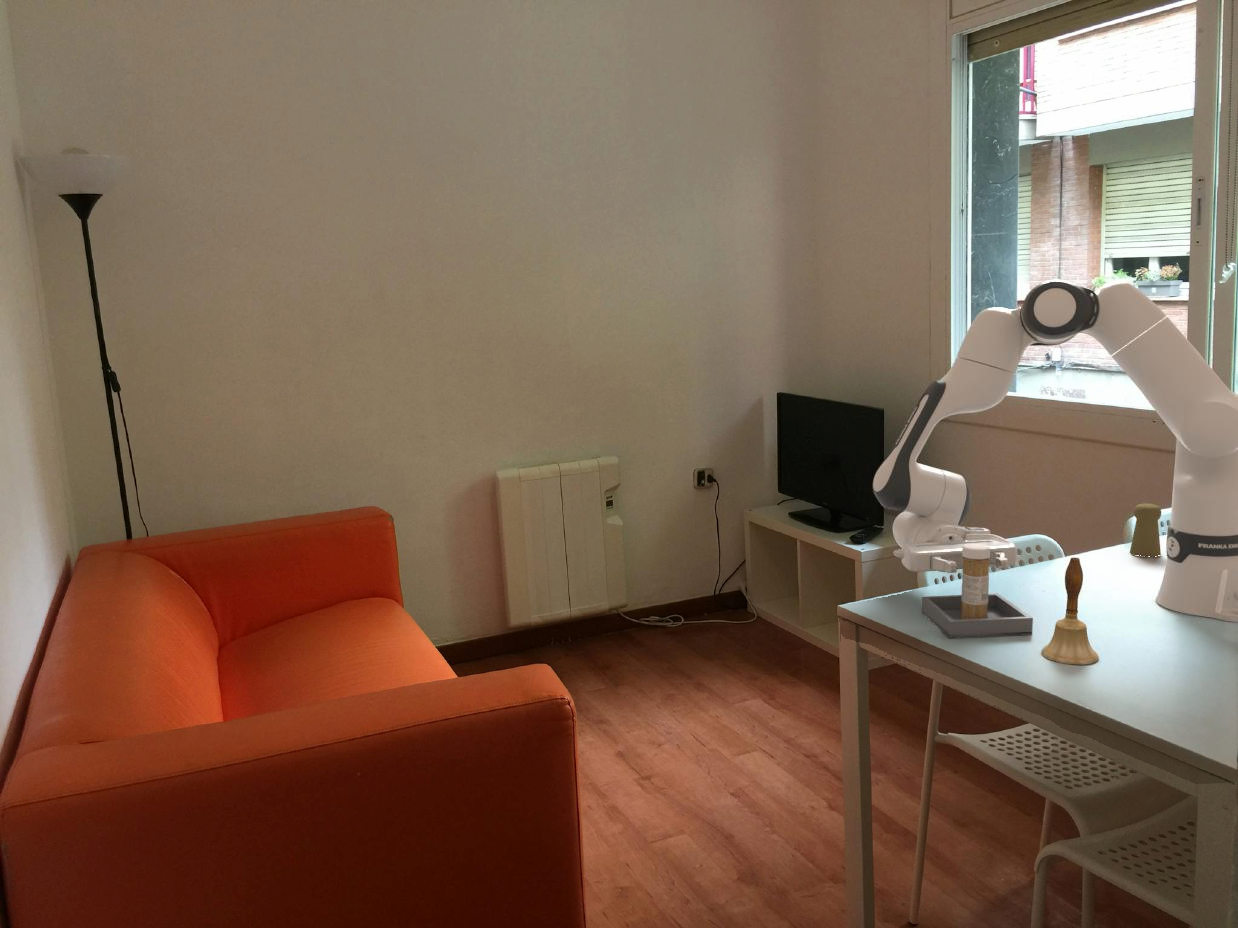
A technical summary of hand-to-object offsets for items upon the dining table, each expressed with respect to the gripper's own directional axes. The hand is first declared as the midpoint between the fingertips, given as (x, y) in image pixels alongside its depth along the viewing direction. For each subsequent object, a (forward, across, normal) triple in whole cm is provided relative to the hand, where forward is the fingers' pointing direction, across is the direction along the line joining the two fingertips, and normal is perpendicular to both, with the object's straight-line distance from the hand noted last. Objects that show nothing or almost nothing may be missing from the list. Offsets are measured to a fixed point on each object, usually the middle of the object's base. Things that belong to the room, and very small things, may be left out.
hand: (978, 566), depth 169 cm
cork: (-35, +56, +11) cm, 67 cm away
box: (-1, 0, +10) cm, 11 cm away
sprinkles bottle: (-1, 0, +10) cm, 10 cm away
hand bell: (+17, +7, +11) cm, 21 cm away
